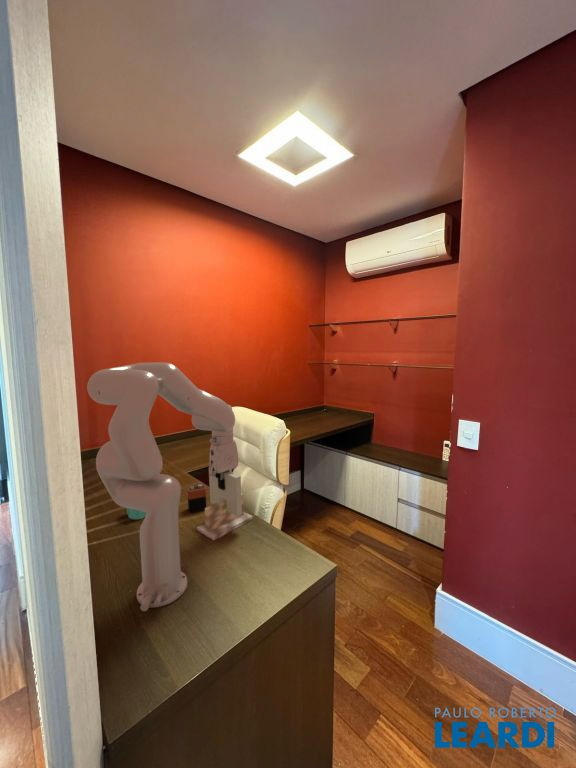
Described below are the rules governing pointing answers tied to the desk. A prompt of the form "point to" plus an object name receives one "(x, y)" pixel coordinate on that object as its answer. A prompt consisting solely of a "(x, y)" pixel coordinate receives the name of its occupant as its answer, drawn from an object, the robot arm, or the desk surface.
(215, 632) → the desk surface
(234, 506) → the beige rectangular panel
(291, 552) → the desk surface
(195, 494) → the battery
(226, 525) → the stand
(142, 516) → the decorative dice
